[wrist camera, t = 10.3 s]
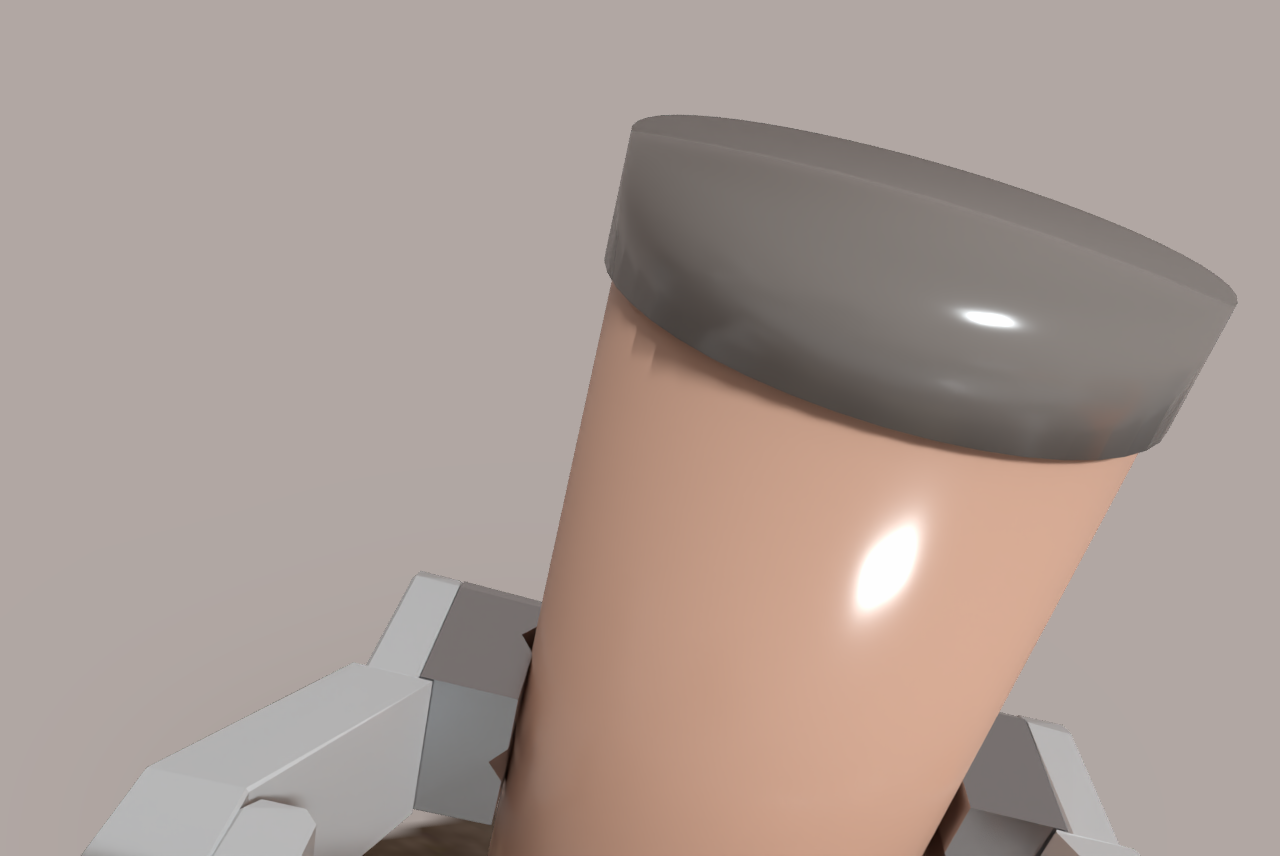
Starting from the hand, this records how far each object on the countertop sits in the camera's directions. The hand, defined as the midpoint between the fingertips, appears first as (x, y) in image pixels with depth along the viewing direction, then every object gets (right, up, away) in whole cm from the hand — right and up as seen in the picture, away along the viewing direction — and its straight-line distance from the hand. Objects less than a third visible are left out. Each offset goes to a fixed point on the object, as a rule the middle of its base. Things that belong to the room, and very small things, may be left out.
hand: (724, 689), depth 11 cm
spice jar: (-2, -7, +2) cm, 7 cm away
